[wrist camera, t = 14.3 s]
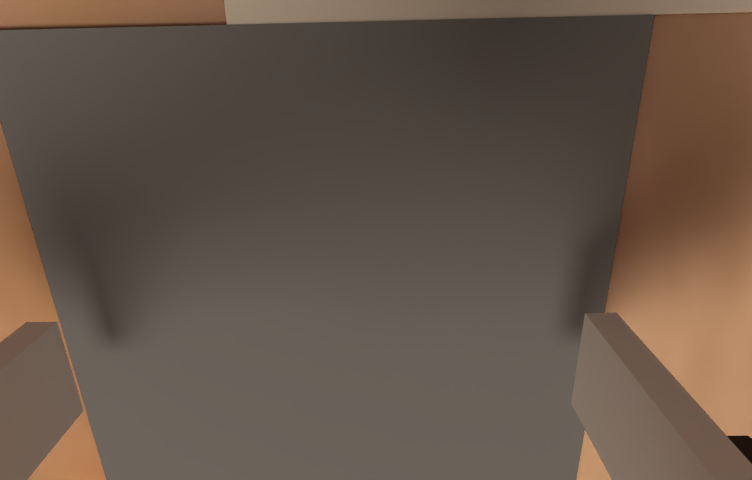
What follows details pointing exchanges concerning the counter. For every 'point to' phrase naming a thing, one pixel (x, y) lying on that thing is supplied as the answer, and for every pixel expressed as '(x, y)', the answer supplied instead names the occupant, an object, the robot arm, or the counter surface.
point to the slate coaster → (328, 237)
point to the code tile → (459, 9)
